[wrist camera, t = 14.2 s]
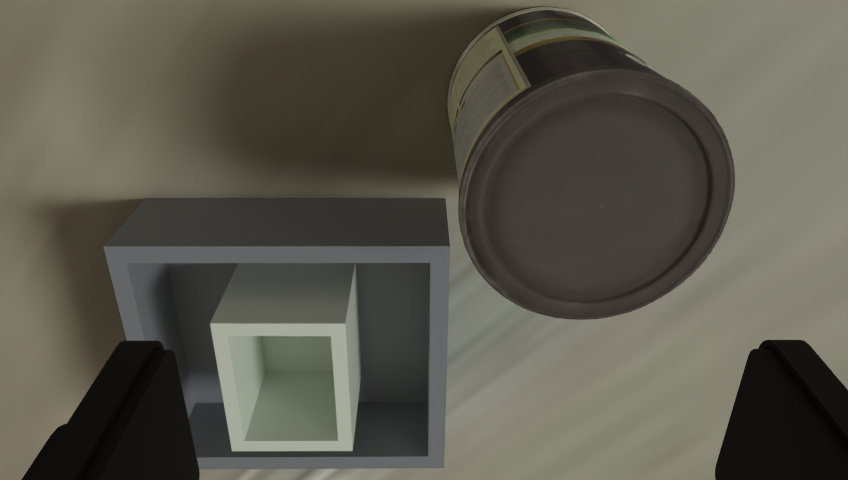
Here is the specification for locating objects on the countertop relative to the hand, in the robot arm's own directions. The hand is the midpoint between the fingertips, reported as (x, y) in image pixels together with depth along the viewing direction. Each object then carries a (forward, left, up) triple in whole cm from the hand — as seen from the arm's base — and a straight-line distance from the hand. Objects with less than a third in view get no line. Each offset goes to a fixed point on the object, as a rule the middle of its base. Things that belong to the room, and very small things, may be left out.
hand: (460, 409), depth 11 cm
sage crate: (+17, -8, -27) cm, 33 cm away
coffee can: (+3, +6, -29) cm, 29 cm away
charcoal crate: (+17, -8, -28) cm, 34 cm away
